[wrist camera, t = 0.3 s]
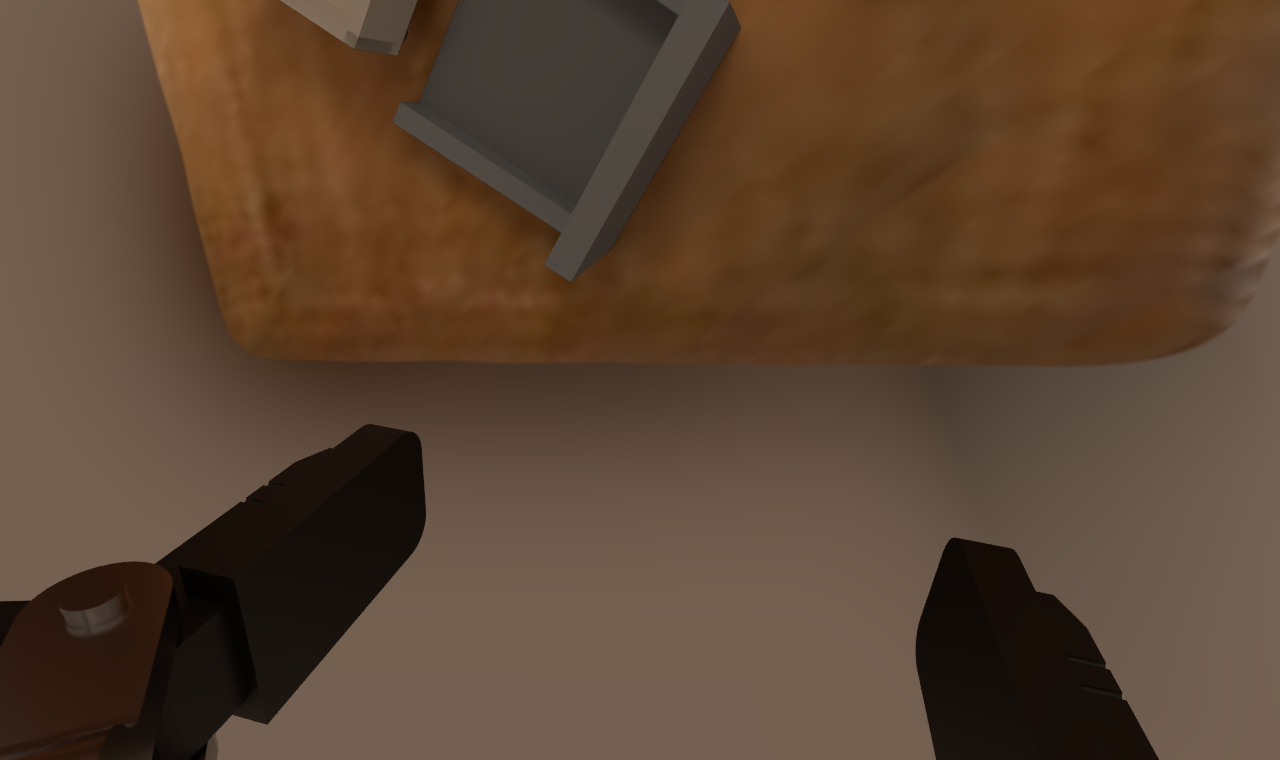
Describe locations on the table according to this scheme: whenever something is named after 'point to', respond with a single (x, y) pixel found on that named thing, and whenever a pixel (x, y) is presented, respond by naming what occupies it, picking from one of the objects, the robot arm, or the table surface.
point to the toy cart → (361, 21)
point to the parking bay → (569, 104)
